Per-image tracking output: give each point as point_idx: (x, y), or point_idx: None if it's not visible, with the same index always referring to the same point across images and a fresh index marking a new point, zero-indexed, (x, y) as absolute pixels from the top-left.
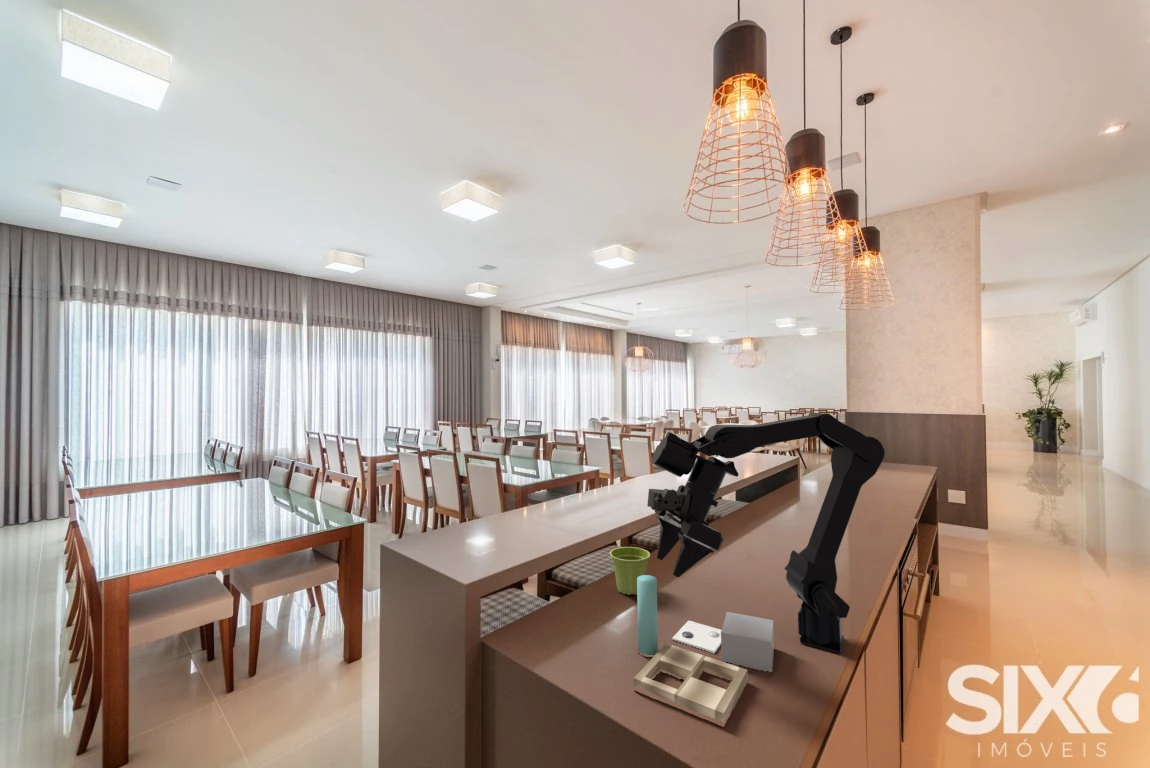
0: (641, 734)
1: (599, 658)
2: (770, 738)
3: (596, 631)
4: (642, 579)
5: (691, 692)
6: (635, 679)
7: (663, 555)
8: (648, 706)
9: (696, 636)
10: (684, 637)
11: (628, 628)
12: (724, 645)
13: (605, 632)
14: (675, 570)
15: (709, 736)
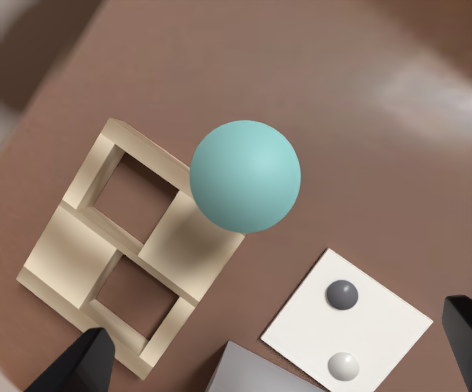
0: (17, 125)
1: (245, 42)
2: (19, 336)
3: (388, 28)
4: (236, 151)
5: (68, 235)
6: (108, 121)
7: (459, 354)
8: (82, 146)
9: (335, 316)
10: (330, 282)
11: (402, 130)
12: (217, 368)
13: (380, 57)
14: (66, 352)
15: (18, 240)
